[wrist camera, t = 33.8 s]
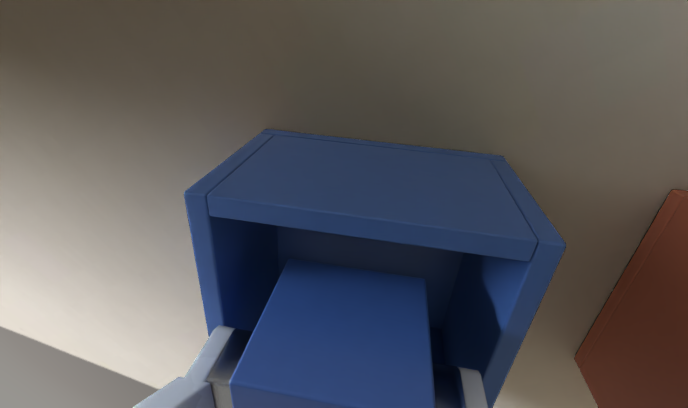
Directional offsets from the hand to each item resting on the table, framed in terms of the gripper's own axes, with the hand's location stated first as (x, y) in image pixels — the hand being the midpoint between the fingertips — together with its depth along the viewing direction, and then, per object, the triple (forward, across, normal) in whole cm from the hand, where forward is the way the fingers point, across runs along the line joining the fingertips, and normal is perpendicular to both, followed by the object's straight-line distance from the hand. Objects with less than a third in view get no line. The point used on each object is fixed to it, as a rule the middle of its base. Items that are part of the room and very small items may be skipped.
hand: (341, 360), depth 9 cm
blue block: (+2, 0, 0) cm, 2 cm away
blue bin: (+6, 0, 0) cm, 6 cm away
